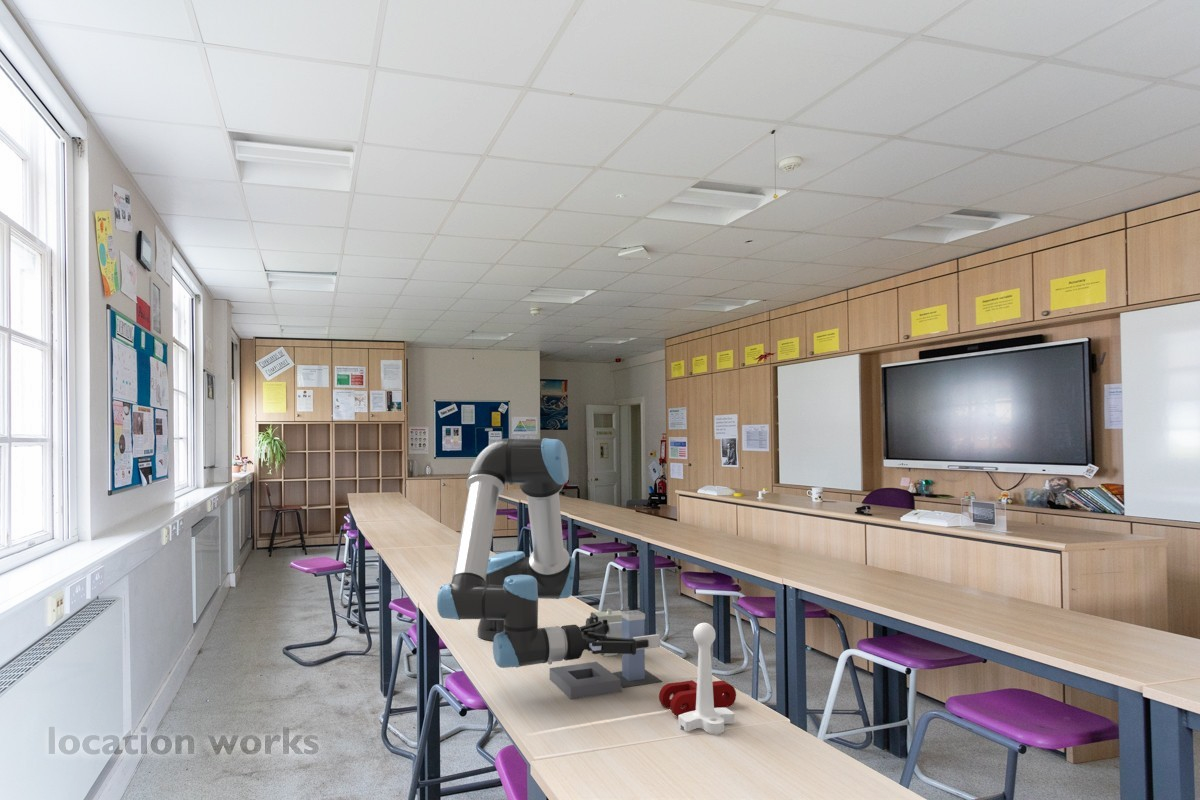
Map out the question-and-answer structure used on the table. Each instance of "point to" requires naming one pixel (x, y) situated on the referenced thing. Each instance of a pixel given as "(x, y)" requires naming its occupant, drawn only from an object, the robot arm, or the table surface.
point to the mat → (648, 680)
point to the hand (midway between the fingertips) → (645, 633)
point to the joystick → (705, 689)
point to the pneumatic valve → (610, 617)
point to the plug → (636, 663)
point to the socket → (585, 680)
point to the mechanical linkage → (694, 696)
